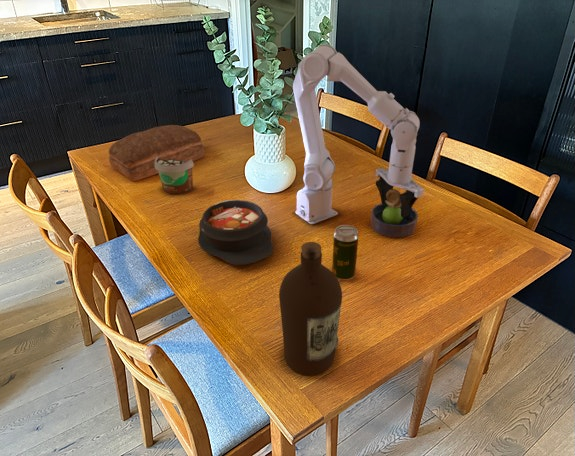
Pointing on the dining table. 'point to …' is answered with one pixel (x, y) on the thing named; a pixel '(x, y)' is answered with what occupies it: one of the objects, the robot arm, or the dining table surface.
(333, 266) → the beer can
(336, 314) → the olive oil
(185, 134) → the bread
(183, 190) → the food container
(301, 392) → the dining table surface
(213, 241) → the casserole
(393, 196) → the snail figurine
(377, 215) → the bowl
